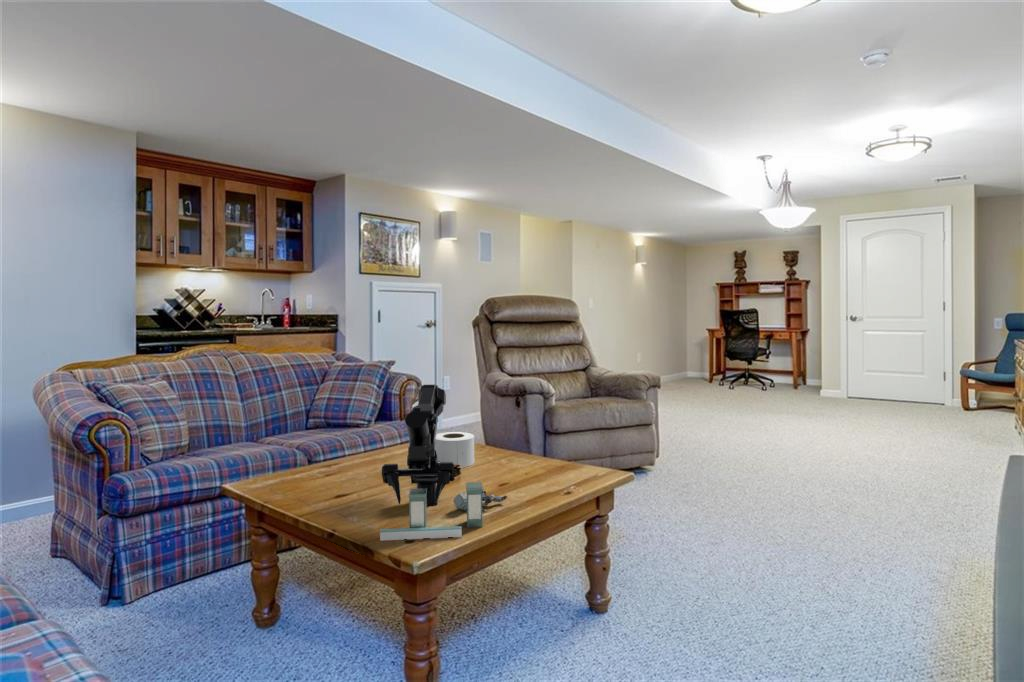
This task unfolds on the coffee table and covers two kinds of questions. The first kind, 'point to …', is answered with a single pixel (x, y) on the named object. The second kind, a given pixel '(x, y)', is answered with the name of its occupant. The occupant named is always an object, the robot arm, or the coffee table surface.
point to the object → (455, 448)
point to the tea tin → (418, 508)
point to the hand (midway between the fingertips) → (417, 502)
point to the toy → (461, 500)
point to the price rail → (420, 533)
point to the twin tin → (474, 504)
